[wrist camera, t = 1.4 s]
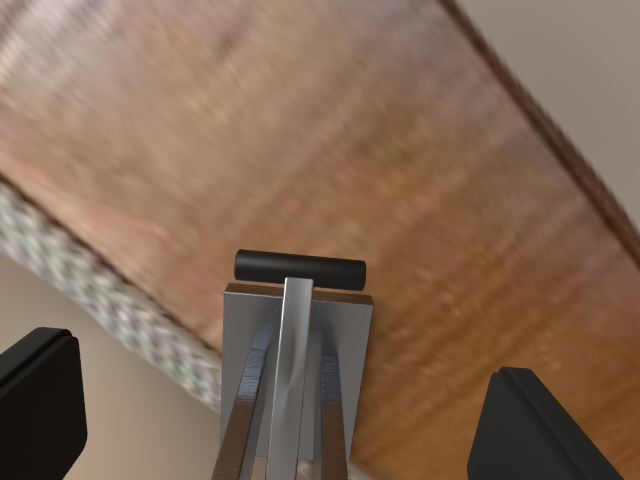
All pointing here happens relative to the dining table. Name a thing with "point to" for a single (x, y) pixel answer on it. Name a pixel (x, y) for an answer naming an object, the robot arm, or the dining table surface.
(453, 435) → the dining table surface
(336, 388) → the press bracket
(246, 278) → the press lever
